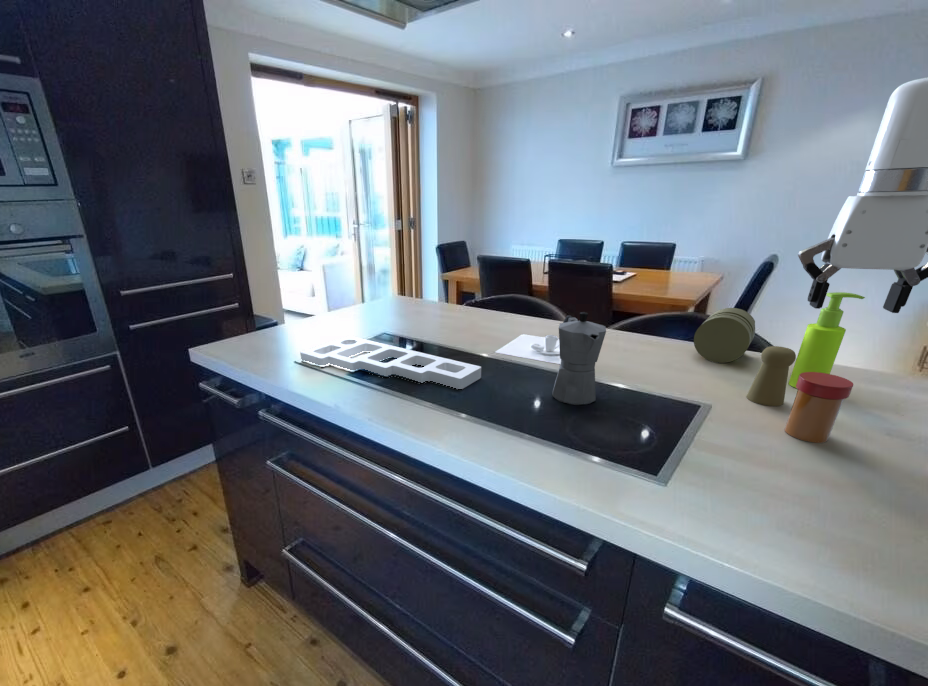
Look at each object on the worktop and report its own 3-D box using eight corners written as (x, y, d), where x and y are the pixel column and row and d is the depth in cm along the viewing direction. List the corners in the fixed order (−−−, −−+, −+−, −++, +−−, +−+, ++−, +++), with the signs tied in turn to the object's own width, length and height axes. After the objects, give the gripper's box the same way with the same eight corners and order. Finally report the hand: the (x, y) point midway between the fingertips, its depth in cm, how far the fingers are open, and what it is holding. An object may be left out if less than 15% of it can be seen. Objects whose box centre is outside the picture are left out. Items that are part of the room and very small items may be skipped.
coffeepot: (609, 408, 87) (624, 319, 80) (562, 410, 86) (572, 321, 79) (579, 379, 101) (589, 301, 94) (538, 381, 101) (545, 303, 94)
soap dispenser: (835, 393, 90) (872, 296, 83) (795, 390, 92) (827, 295, 85) (822, 383, 95) (855, 290, 88) (783, 379, 98) (813, 289, 90)
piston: (749, 354, 113) (762, 311, 109) (742, 367, 105) (755, 321, 101) (699, 345, 120) (709, 305, 116) (689, 357, 112) (699, 314, 108)
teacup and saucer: (527, 352, 119) (528, 337, 117) (537, 344, 125) (539, 330, 123) (559, 357, 114) (561, 342, 113) (568, 349, 120) (570, 335, 119)
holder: (481, 377, 103) (482, 366, 102) (436, 404, 91) (435, 392, 90) (350, 344, 130) (349, 335, 129) (300, 361, 117) (299, 352, 116)
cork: (788, 407, 85) (806, 354, 81) (751, 403, 87) (767, 351, 83) (777, 395, 90) (793, 344, 86) (742, 392, 92) (757, 342, 88)
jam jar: (821, 429, 77) (840, 378, 73) (833, 445, 72) (855, 391, 69) (780, 424, 79) (797, 373, 76) (789, 439, 75) (808, 386, 71)
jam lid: (840, 386, 74) (844, 375, 73) (856, 402, 69) (861, 390, 68) (790, 381, 77) (794, 369, 76) (802, 395, 71) (806, 383, 70)
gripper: (968, 182, 60) (915, 307, 67) (808, 186, 67) (775, 300, 74) (1007, 181, 54) (944, 319, 61) (826, 186, 61) (788, 310, 68)
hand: (851, 308), depth 67 cm, fingers open, 8 cm apart
